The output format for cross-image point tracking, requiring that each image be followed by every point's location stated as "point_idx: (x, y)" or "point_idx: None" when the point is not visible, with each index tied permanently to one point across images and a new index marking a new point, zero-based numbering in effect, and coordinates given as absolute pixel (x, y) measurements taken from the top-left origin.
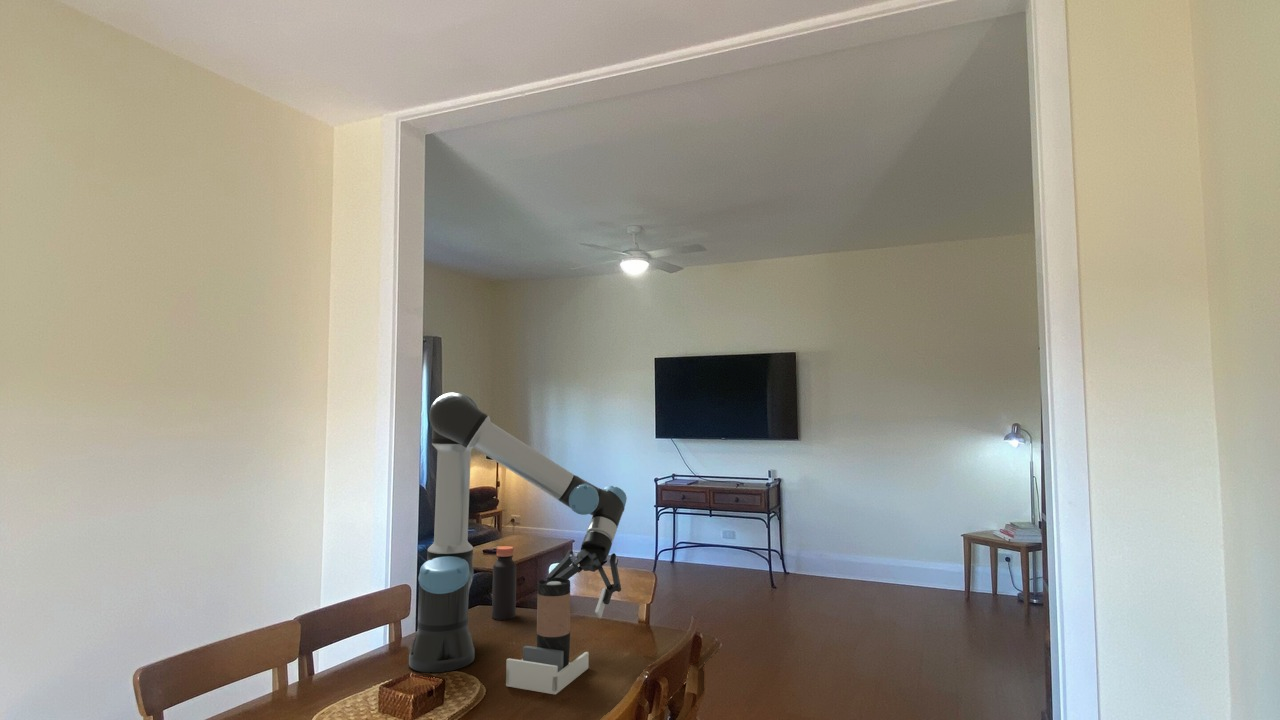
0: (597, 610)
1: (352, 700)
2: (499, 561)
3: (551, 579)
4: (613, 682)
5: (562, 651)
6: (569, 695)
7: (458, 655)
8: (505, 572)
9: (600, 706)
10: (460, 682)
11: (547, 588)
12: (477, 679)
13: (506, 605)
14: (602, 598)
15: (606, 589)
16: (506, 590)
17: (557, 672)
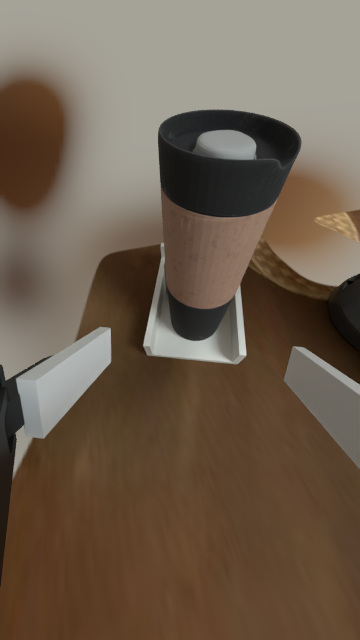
0: (100, 329)
1: (343, 225)
2: None
3: (277, 166)
4: (96, 315)
5: (164, 263)
6: (146, 272)
7: (344, 290)
8: None
9: (105, 258)
10: (289, 272)
11: (219, 126)
12: (278, 283)
13: None
14: (66, 349)
15: (19, 393)
16: None
17: (161, 253)
